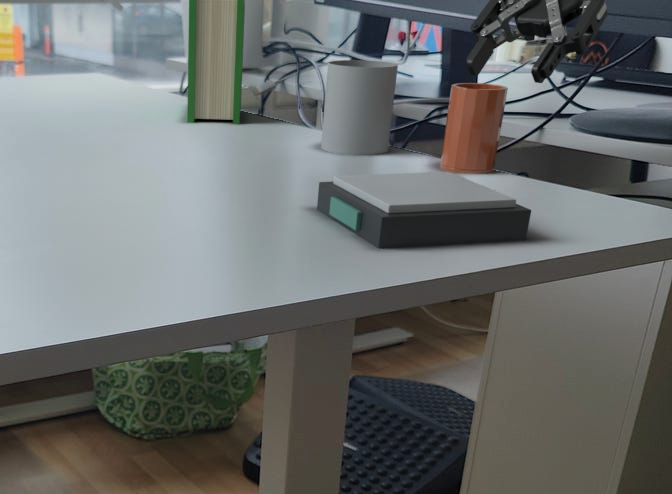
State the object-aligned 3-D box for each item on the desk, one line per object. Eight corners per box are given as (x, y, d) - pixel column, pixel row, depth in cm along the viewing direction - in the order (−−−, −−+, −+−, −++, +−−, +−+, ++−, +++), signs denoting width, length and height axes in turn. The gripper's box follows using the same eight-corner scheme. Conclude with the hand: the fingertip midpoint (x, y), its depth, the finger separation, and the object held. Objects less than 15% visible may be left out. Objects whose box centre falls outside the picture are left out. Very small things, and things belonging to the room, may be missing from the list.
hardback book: (239, 125, 136) (246, -71, 124) (187, 124, 136) (190, -72, 124) (240, 107, 151) (247, -69, 139) (194, 106, 152) (197, -70, 140)
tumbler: (476, 164, 114) (489, 82, 109) (503, 174, 109) (518, 89, 104) (430, 166, 113) (442, 83, 108) (455, 176, 108) (469, 90, 103)
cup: (315, 153, 118) (322, 65, 113) (326, 142, 125) (333, 59, 120) (383, 158, 116) (393, 68, 111) (391, 147, 123) (401, 62, 118)
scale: (447, 205, 95) (453, 169, 93) (525, 242, 83) (533, 201, 81) (312, 212, 91) (315, 174, 90) (373, 251, 80) (378, 208, 78)
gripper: (645, -13, 107) (566, 105, 106) (533, -18, 116) (461, 90, 115) (632, -70, 101) (549, 54, 100) (516, -70, 110) (440, 44, 110)
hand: (502, 73), depth 108 cm, fingers open, 8 cm apart
